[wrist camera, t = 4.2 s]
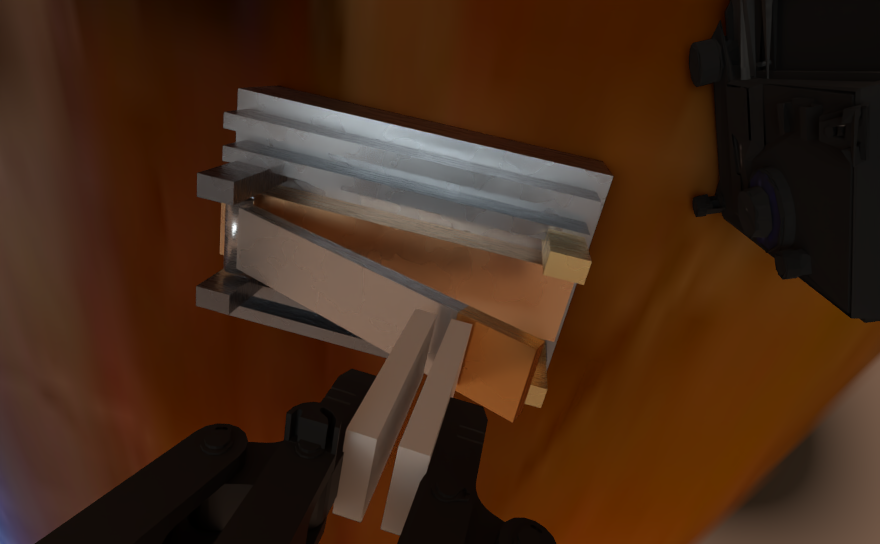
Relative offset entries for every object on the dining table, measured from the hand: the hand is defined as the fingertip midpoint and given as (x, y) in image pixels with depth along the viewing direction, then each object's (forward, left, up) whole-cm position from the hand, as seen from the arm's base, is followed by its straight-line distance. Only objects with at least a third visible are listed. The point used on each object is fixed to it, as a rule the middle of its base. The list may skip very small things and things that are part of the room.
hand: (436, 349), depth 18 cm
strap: (-4, 0, -3) cm, 5 cm away
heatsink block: (-3, 0, -12) cm, 13 cm away
